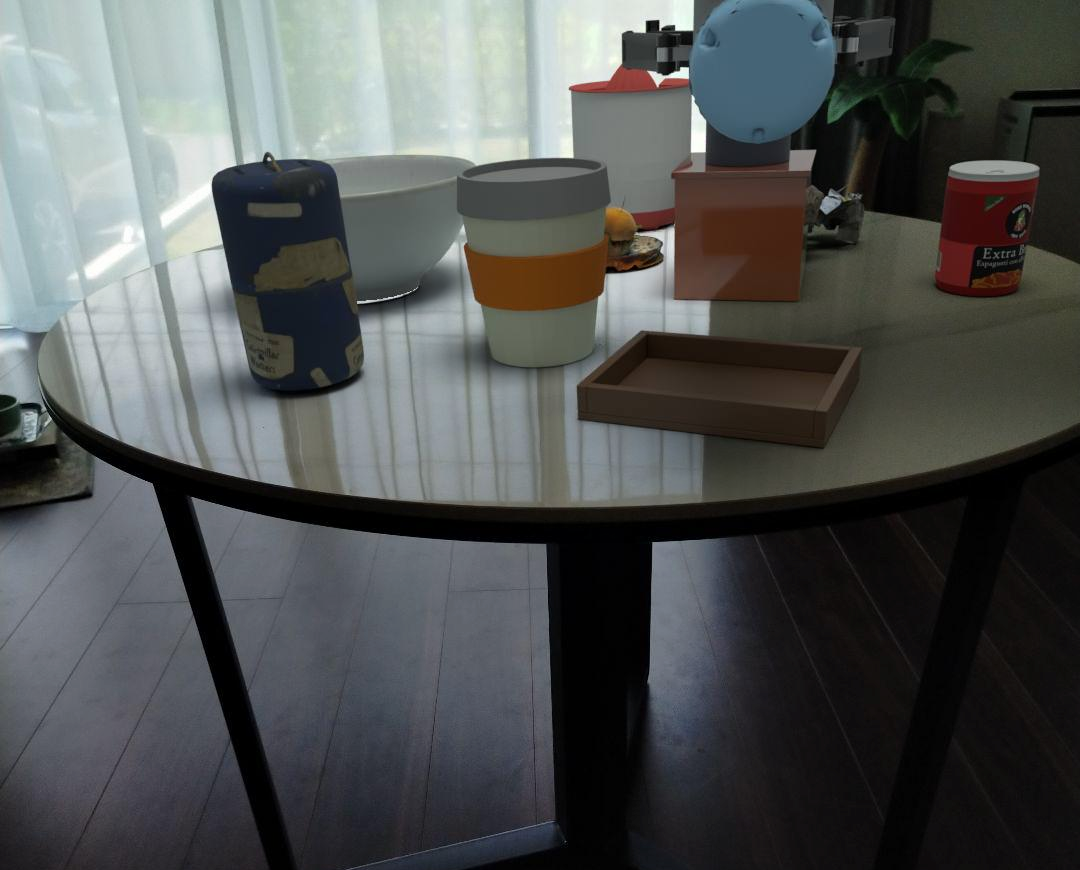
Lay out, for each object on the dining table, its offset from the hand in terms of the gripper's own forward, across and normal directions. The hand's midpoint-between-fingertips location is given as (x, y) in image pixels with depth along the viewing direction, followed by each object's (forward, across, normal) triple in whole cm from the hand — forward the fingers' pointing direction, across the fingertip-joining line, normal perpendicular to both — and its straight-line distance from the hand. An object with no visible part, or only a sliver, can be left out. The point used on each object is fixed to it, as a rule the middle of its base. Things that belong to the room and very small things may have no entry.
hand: (753, 38), depth 82 cm
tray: (-23, -1, -23) cm, 32 cm away
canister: (-19, -36, -23) cm, 47 cm away
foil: (+24, +7, -23) cm, 34 cm away
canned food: (+8, +22, -23) cm, 33 cm away
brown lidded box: (+10, 0, -23) cm, 25 cm away
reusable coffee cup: (-12, -17, -23) cm, 31 cm away
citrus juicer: (+42, -14, -23) cm, 50 cm away
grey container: (+10, 0, -11) cm, 15 cm away
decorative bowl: (+9, -40, -23) cm, 48 cm away
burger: (+21, -14, -23) cm, 34 cm away
